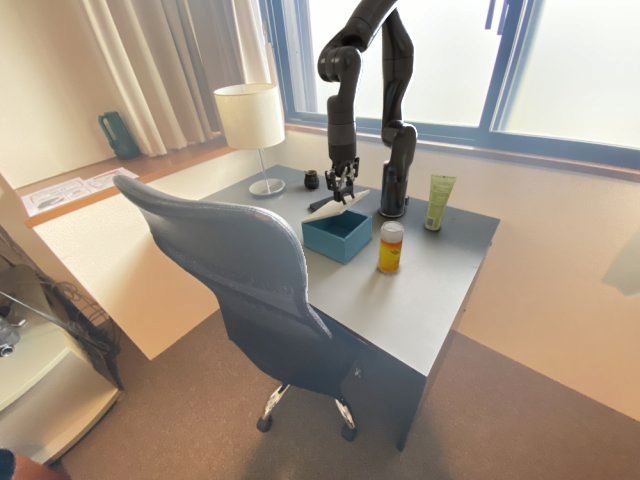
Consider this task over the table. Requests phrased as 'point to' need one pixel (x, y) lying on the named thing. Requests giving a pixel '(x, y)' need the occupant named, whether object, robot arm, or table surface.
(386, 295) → the table surface
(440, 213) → the tube
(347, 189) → the lid
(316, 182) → the mate gourd
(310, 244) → the blue open box
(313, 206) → the smart home device
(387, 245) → the beer can
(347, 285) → the table surface
